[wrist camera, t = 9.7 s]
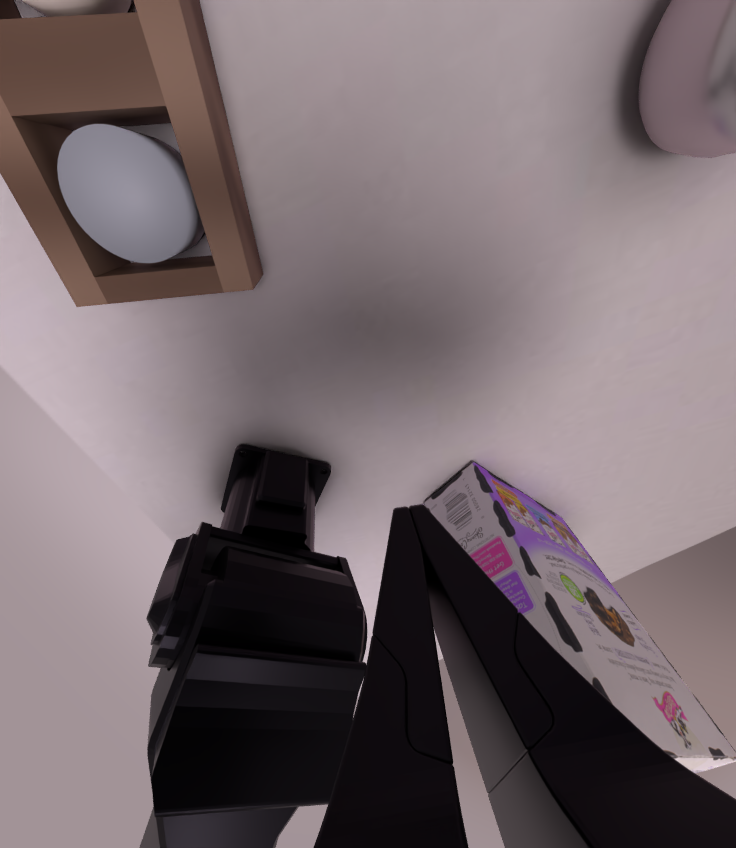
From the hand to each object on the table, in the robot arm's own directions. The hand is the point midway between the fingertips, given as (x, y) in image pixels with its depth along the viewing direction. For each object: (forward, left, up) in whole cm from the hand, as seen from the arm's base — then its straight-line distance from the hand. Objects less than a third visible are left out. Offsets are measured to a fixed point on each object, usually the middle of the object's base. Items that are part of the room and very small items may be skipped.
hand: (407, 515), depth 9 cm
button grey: (+3, +11, -12) cm, 16 cm away
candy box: (-10, -17, -12) cm, 23 cm away
